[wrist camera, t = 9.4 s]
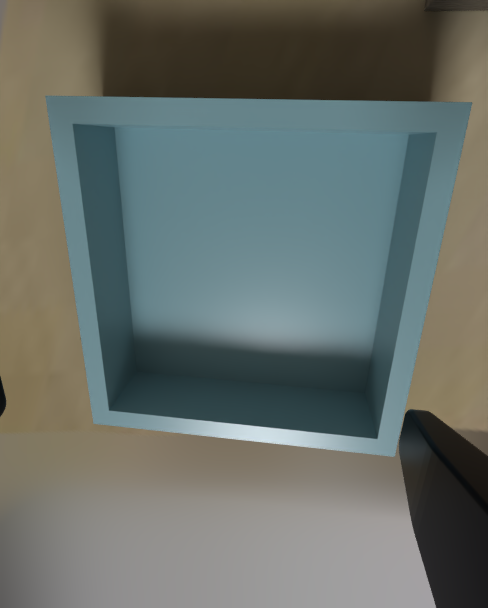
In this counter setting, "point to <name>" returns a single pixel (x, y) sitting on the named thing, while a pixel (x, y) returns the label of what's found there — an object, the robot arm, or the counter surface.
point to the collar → (455, 5)
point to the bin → (254, 260)
